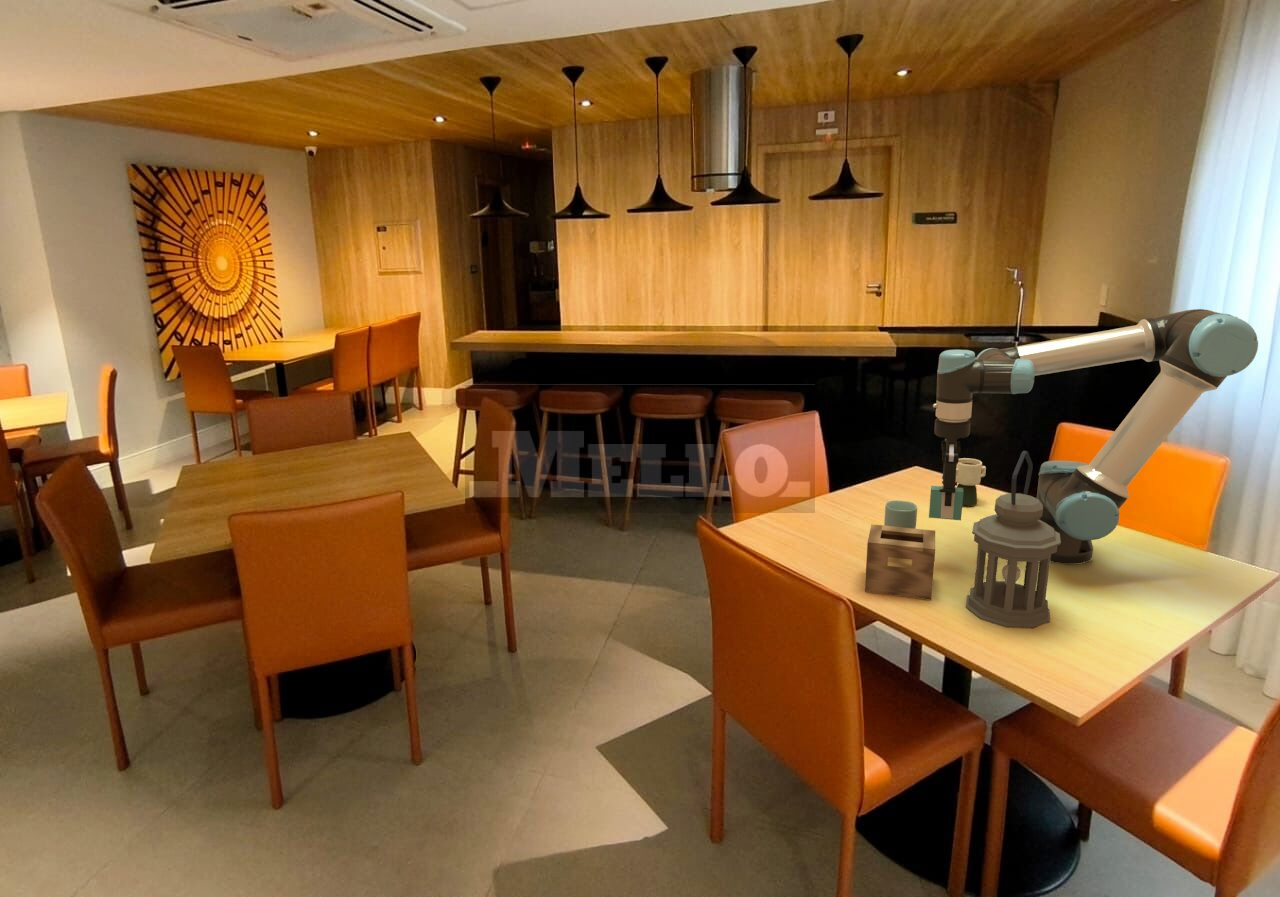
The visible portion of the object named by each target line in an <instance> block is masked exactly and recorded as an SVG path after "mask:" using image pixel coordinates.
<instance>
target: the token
mask: <svg viewBox="0 0 1280 897" xmlns="http://www.w3.org/2000/svg"><path fill="white" fill-rule="evenodd" d="M940 489H943V485H941V486H939V485H931V486H930V495H929V496H930V497H929V509H928V510H929V511H928V518H929V519H930V518H931V519H940V520H952V521H953V520H954V521H962V515H963V514H962V512H963V511H962V510H963V505H962V503H963V488H957V486H955V489H956V491H955V497H954V512H953V519H949V518H941V502H942V492H939V491H940Z"/></svg>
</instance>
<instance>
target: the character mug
mask: <svg viewBox="0 0 1280 897" xmlns="http://www.w3.org/2000/svg"><path fill="white" fill-rule="evenodd" d="M986 470H987V467H986V465H983V462H982V461H981V460H980V459H976V458H968V457H967V458H966V457H963V458H960V457H959V462H958V464H957V467H956V482H957V486H956V488H963V503H962V506H970V507H971V506H975V505H977V503H978V493H977V492H978V489H977V486H978V485H980V484H981V480H982V478H984V477H985V476H986Z"/></svg>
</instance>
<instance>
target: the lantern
mask: <svg viewBox="0 0 1280 897" xmlns="http://www.w3.org/2000/svg"><path fill="white" fill-rule="evenodd" d="M1024 460H1025V461H1026V463H1027V471H1026V472H1027V473H1026V478H1025V485H1024V490H1023V493H1017V477H1018V474H1019V473H1020V470H1021V467H1022V464H1023V462H1024ZM1032 473H1033V461H1032V459H1031V456H1030V454H1029V452H1028V450H1023V451H1022V452H1021V453H1020V456H1019V459H1018V460H1017V463H1016V465H1015V467H1014V470H1013V472H1012V477H1011V492H1010V493H1004V494H1002V495H999V496H998V497H997V498H996V499H995V504H994V512H995V514H992V515H989V516H986V517H983V518H980V519H979V521H975V522H973V525H972V531H971V533H972V534H973V535H974V537H973V542H975V543H977V544H978V545H977V556H976V564H975V565H976V566H975V572H974V573H975V574H974V575H975V576H974V585H973V587H971V588H970V591H969V594H968V595H967V596H966V602H965V606H964V607H965V608H966V610H967V611H969V612H971V614H973V615H974V617H975V616H976V617H977V619H979V620H981V621H983V622H987V623H991V624H993V625H997V626H1000V627H1003V628H1009V629H1011V628H1012V629H1015V628H1016V629H1031V630H1032V629H1036V628H1039V627H1042V626H1043V625H1046V624H1049V623H1050V622H1051V614H1050V613H1051V612H1050V608H1049V600H1048V599H1046V598H1047V589H1048V582H1049V581H1048V580H1049V574H1050V567H1051V562H1050V560H1051V554H1053V553H1056V552H1057V546H1058V545H1061V541H1060V533H1058V532H1056V531H1055V530H1054V528H1052V527H1051V526H1049V525H1048V524H1046V523H1044V522H1043V521H1041V520H1039V519H1040V518H1041V517H1042V513H1043V504H1042V503H1041V502H1040V501H1039V500H1038V499H1037V497H1034V496H1033V495H1028V493H1029V488H1030V483H1031V479H1032ZM987 555H988V556H987ZM986 557H987V558H986ZM999 559H1002V560H1006V561H1007V563H1006V564H1005V565H1003V567H1002V568H1001V575H1002V578H1003V579H1004V581H1002V580H1001V581H999V580H997V573H998V562H999ZM986 560H987V565H986ZM1018 563H1025V570H1024V577H1023V578H1024V580H1023V584H1020V583H1016V582H1017V581H1018V580H1019V578H1020V577H1021V571H1022V570H1021V569H1020V567H1019V566H1018ZM985 566H986V575H985ZM984 579H985V581H984Z"/></svg>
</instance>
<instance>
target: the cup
mask: <svg viewBox="0 0 1280 897" xmlns="http://www.w3.org/2000/svg"><path fill="white" fill-rule="evenodd" d="M917 515H918V506H917V504H915V503H914V502H912V501H908V500H890V501H887V502H886V503H885V507H884V522H883V523H884V525H883V526H894V527H904V528H914V529H917V528H916V527H917V521H918V520H917V517H918V516H917Z"/></svg>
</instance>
